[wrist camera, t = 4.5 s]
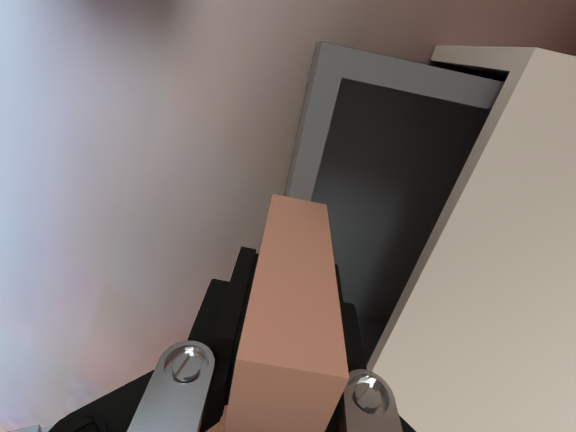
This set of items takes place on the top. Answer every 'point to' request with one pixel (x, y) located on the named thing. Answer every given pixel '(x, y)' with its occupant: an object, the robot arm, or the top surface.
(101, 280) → the top surface
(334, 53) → the tray
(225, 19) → the top surface
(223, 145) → the top surface
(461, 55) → the white drawer housing
